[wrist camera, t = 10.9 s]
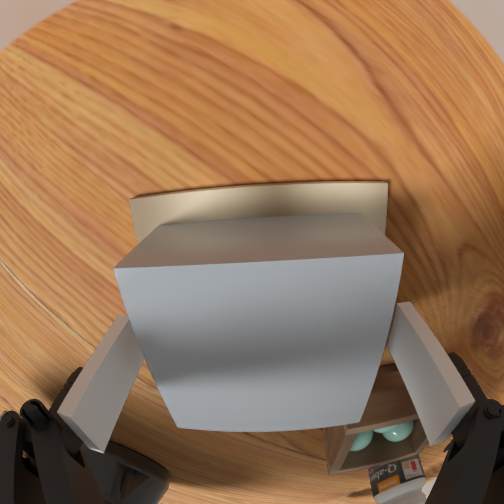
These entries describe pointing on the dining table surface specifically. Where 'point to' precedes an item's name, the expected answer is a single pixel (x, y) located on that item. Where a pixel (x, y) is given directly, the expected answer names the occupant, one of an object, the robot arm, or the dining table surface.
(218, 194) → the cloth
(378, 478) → the pill bottle
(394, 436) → the marble
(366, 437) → the marble
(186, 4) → the dining table surface
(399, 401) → the walnut dish
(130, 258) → the grey cover
